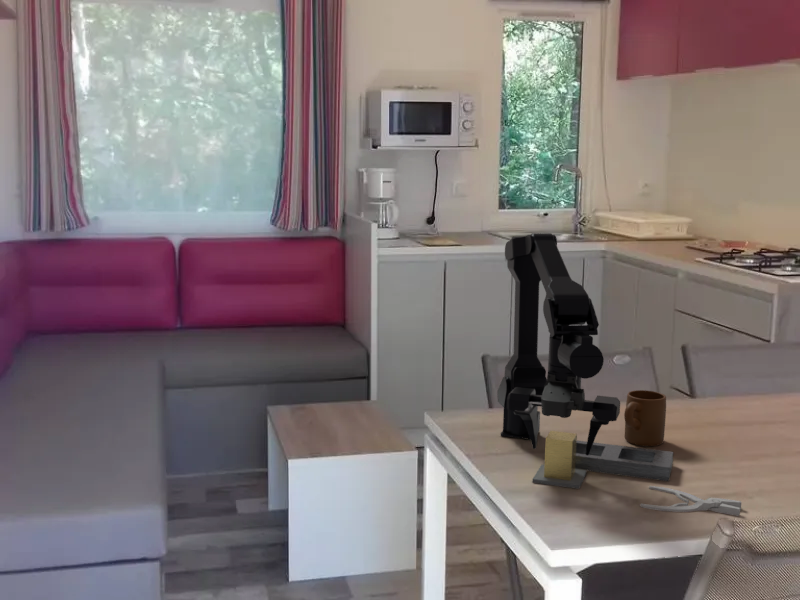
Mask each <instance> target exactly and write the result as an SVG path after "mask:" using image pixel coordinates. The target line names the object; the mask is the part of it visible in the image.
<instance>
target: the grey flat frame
mask: <svg viewBox="0 0 800 600" xmlns="http://www.w3.org/2000/svg"><path fill="white" fill-rule="evenodd" d="M586 446H587V441H586V440H585V441H584V440H578V439H577V442H576V462H575V469H580V470H586V472H595V473H602V474H610V475H617V476H624V477H632V478H633V477H634V478H640V479H641V478H642V479H647V480H654V481H656V480H657V481H665V482H669V481H670V477H671V472H672V468H673V461H674V452H673V451H669V450H660V449H652V448H651V449H650V448H644V447H643V448H642V447H635V446H626V445H617V444H609V443H602V442H594V443H593V445H592V448H591V450H590V453H589V455H586Z"/></svg>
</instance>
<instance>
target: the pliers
mask: <svg viewBox="0 0 800 600" xmlns="http://www.w3.org/2000/svg"><path fill="white" fill-rule="evenodd" d="M648 489H649V490H655V491H658V492H662V493H663V492H664V493H668V494H672V495H675V496H676V497H677V498H678V499H679V500H681V501H683V502H679V503H674V504H672V505H669V506H668V505H657V504H656V505H654V504H647V503H646V504H645V503H640V504H639V507H641V508H645V509H647V510H649V509H650V510H656V511H661V512H671V511H672V513H673V512H675V513H676V512H677V513H685V512H688V513H690V512H697V511H712V512H715V513H719V514H720V513H721V514H725V515H731V516H738V517H740V515H741V510H742V501H741V500H734V499H729V498H727V499H726V498H722V497H708V498H707V499H705V500H704V499H703V498H700V497H698V496H696V495H693V494H690V493H688V492H685V491H681V490H678V489H673V488H669V487H663V486H654V485H649V486H648ZM690 501H691V502H692V503H694V504H691V505H689V503H690Z"/></svg>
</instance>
